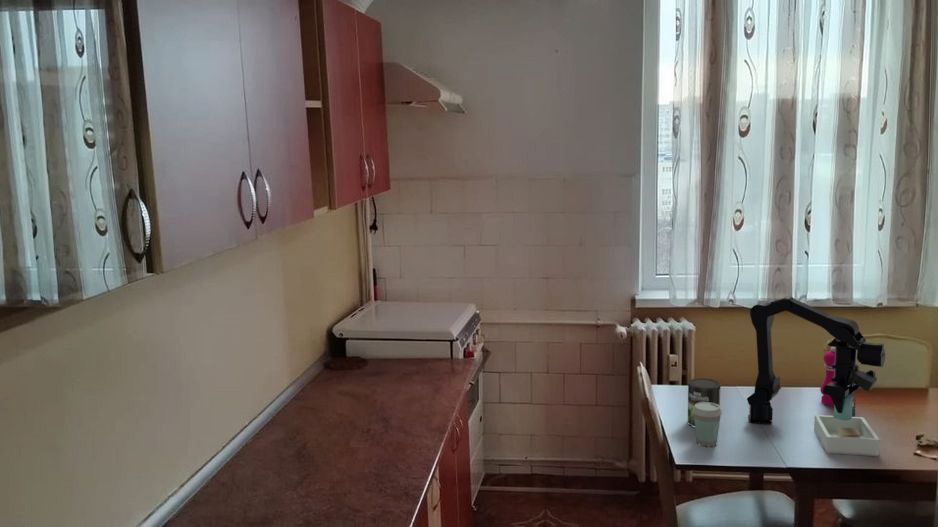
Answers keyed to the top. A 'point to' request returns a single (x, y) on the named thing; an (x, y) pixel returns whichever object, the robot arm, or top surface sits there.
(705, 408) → the coffee cup
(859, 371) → the robot arm
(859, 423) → the tote
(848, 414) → the teal cylinder
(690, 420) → the coffee can
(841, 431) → the beige rectangular block
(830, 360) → the pepper mill
